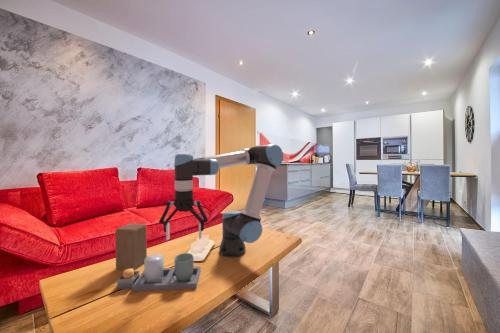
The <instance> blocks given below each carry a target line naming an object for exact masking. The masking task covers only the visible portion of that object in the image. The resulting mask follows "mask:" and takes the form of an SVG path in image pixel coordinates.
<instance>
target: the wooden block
mask: <svg viewBox="0 0 500 333" xmlns="http://www.w3.org/2000/svg"><path fill="white" fill-rule="evenodd" d="M147 228H148V227H147V224H145V223H133V222H132V223H128V224H125V225H122V226H120V227H118V228H116V229H115V269H116V270H118V271H119V270H123V271H124V270H126V269H130V268H132V269H134V271H137V269H138V268H140V267H142V266H143V265H144V259H145V258H146V257H148V253H147V251H148V250H147V246H148V245H147V237H148V236H147V233H148V232H147Z"/></svg>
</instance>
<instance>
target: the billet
mask: <svg viewBox="0 0 500 333" xmlns="http://www.w3.org/2000/svg"><path fill="white" fill-rule="evenodd" d="M164 259H165V258H164V255H163V254H161V253H160V254H157V253H156V254H151V255H147V257H146V258H145V259H144V264H143V265H144V266H143V267H144V268H143V271H144V284H153V283H162V282H163V281H164V268H165V265H164V264H165V260H164Z"/></svg>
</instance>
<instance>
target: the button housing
mask: <svg viewBox="0 0 500 333" xmlns="http://www.w3.org/2000/svg"><path fill="white" fill-rule="evenodd" d="M139 277H140V271H139V270H134V276H133V277H132V278H123V273H122V274H121V275H120V276H119V277H118V278H117V279H116V282H117V283H116V284H117V290H130V289H131V290H132V286H133V285H134V283H135V282H136V281H137V279H138V278H139Z"/></svg>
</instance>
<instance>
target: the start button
mask: <svg viewBox="0 0 500 333" xmlns="http://www.w3.org/2000/svg"><path fill="white" fill-rule="evenodd" d="M134 271H135V270H134V269H132V268H130V269H126V270H123V271H122V274H123V278H132V277H133V276H134Z"/></svg>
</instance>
